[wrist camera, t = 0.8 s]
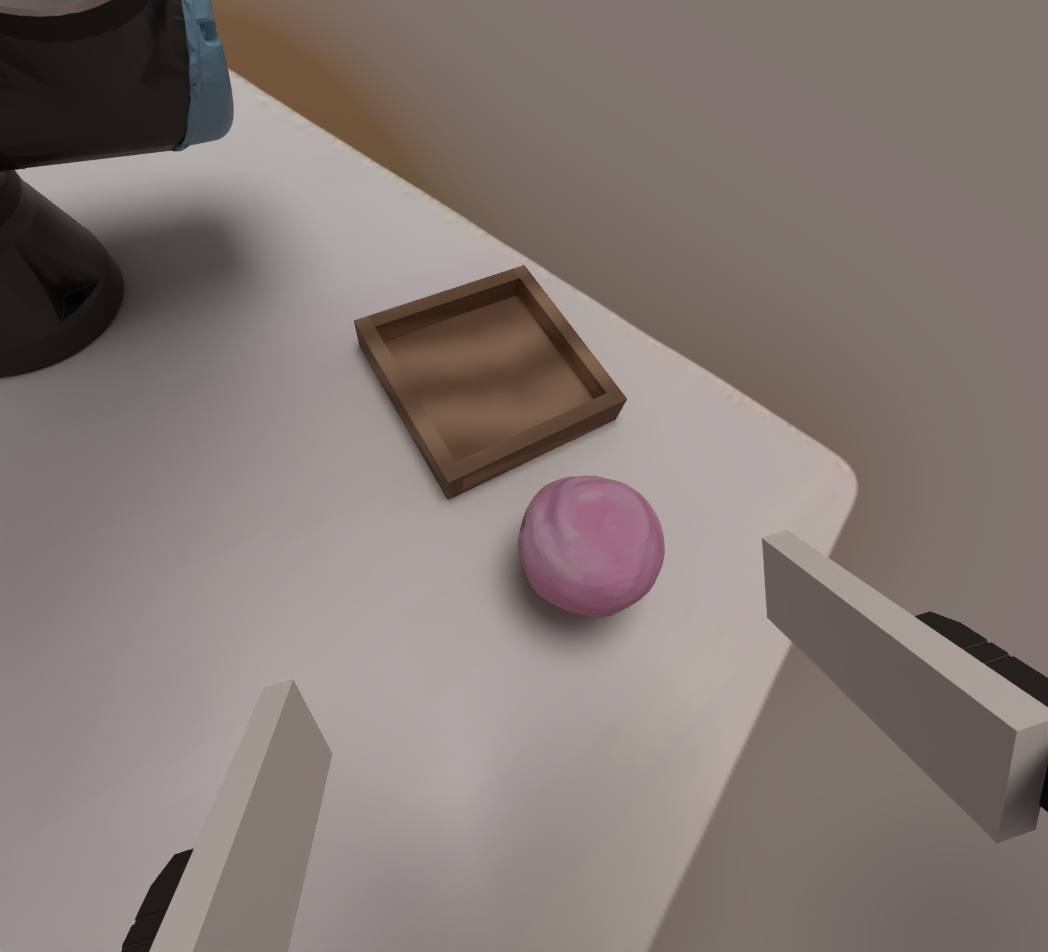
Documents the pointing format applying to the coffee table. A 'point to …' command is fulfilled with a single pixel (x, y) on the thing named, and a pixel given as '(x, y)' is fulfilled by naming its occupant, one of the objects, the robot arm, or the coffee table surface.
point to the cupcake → (591, 545)
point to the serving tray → (487, 377)
